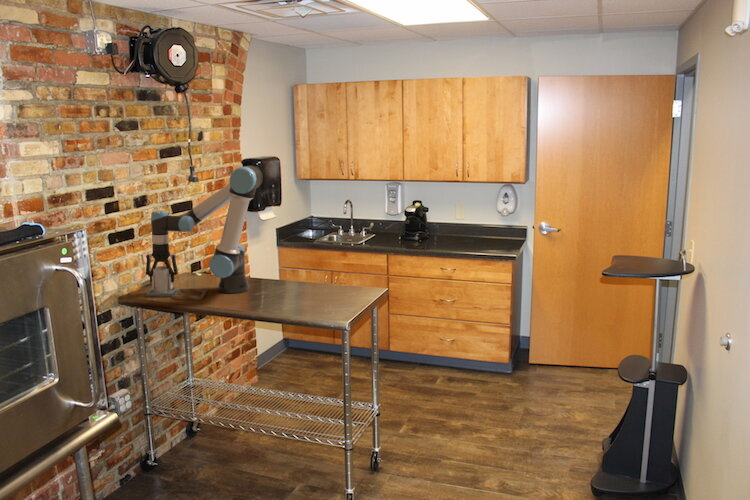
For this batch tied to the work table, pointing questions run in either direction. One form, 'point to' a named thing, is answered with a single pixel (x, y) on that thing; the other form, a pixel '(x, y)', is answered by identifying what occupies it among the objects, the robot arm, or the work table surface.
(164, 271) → the cup
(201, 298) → the holder frame
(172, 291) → the tray
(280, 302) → the work table surface
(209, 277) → the work table surface
